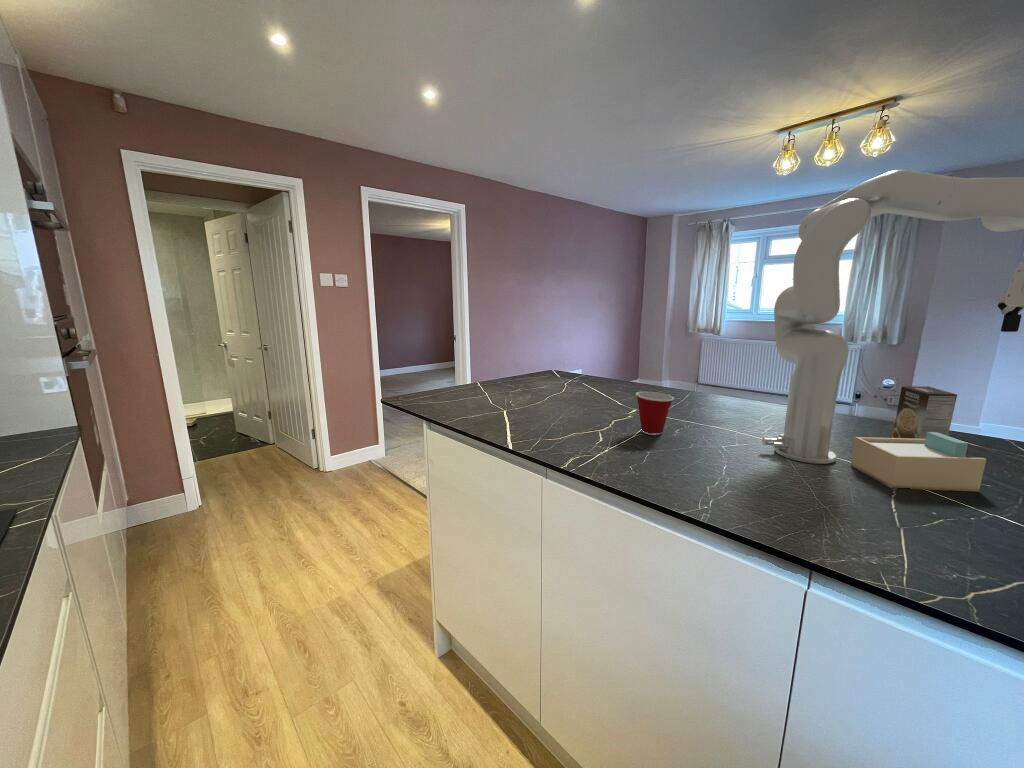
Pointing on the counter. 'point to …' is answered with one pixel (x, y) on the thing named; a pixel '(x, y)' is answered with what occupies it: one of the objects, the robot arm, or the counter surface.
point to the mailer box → (916, 467)
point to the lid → (928, 447)
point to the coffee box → (923, 412)
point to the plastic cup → (653, 410)
